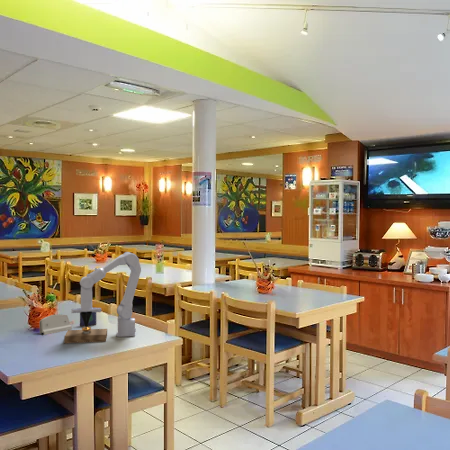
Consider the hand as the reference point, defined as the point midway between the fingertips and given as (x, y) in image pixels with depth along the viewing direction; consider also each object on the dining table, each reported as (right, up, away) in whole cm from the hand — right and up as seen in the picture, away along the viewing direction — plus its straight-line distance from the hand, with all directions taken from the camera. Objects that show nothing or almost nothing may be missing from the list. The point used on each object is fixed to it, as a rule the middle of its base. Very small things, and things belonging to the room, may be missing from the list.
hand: (86, 326), depth 234 cm
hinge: (-22, -6, +16) cm, 28 cm away
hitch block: (0, -7, 0) cm, 7 cm away
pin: (0, -7, 0) cm, 7 cm away
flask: (-8, -6, +28) cm, 30 cm away
